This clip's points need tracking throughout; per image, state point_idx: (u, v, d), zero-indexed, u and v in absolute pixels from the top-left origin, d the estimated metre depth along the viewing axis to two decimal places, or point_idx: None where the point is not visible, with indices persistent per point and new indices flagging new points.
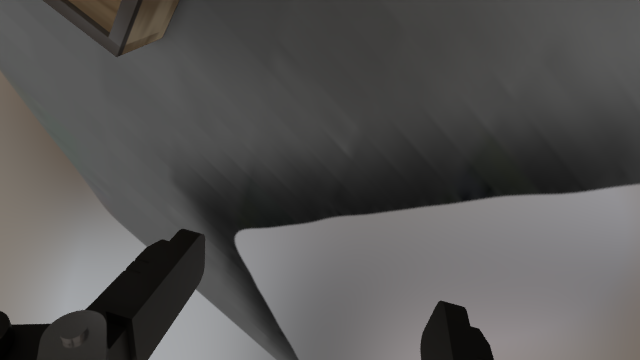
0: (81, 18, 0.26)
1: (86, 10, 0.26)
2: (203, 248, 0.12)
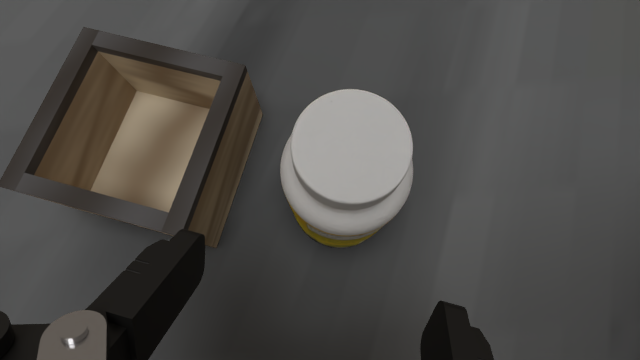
0: (41, 134, 0.19)
1: (61, 135, 0.20)
2: (203, 248, 0.12)
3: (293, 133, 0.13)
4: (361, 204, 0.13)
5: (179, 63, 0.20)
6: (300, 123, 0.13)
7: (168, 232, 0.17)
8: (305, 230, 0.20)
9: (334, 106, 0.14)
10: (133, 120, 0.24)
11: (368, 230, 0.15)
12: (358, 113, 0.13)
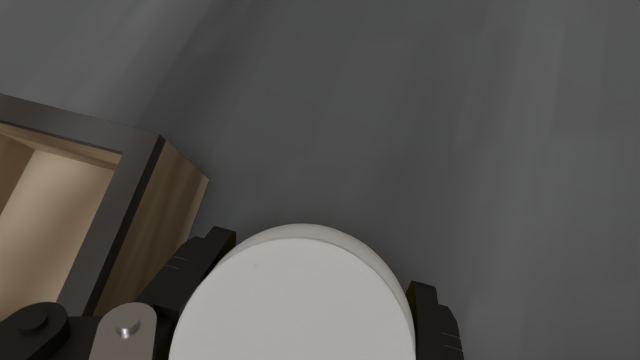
0: None
1: None
2: (234, 245, 0.12)
3: (174, 339, 0.07)
4: None
5: (60, 130, 0.13)
6: (189, 316, 0.07)
7: None
8: None
9: (261, 277, 0.07)
10: (27, 192, 0.18)
11: None
12: (308, 292, 0.07)
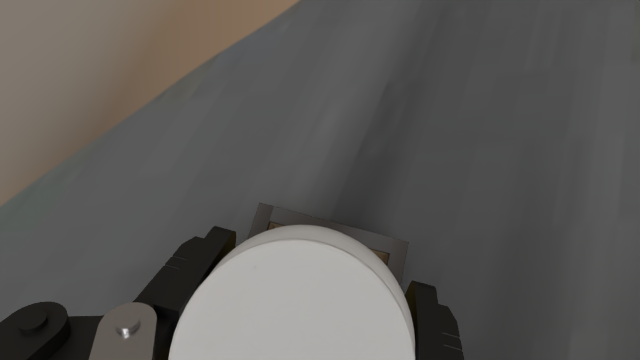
0: None
1: None
2: (234, 245, 0.12)
3: (174, 341, 0.07)
4: None
5: None
6: (189, 318, 0.07)
7: None
8: None
9: (261, 278, 0.07)
10: None
11: None
12: (307, 294, 0.07)
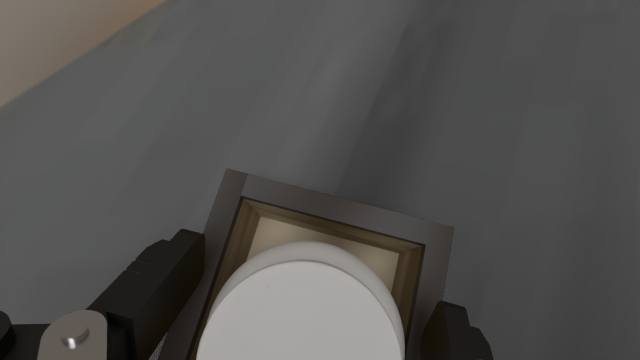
0: (188, 338, 0.13)
1: (204, 324, 0.14)
2: (203, 248, 0.12)
3: (200, 348, 0.08)
4: None
5: (364, 223, 0.15)
6: (212, 329, 0.08)
7: None
8: None
9: (273, 295, 0.08)
10: None
11: None
12: (312, 308, 0.08)
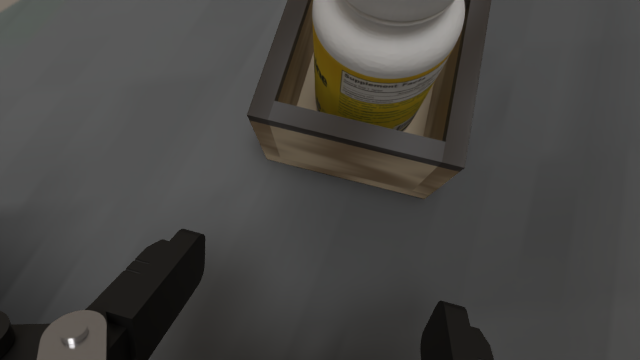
0: (284, 60, 0.17)
1: (291, 66, 0.18)
2: (203, 248, 0.12)
3: None
4: None
5: None
6: None
7: (449, 162, 0.15)
8: (332, 113, 0.18)
9: None
10: None
11: (416, 69, 0.13)
12: None
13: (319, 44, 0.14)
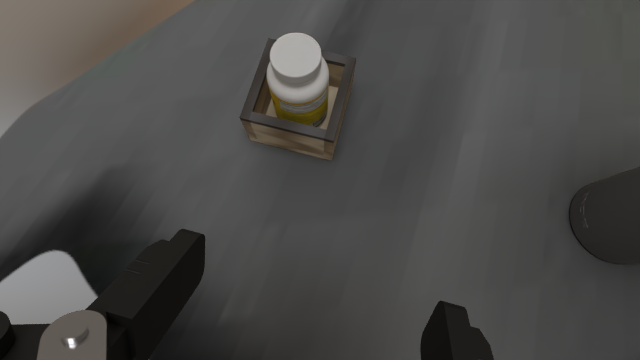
0: (256, 93, 0.37)
1: (261, 94, 0.38)
2: (203, 248, 0.12)
3: (271, 50, 0.31)
4: (298, 77, 0.31)
5: None
6: (274, 46, 0.31)
7: (327, 138, 0.35)
8: (281, 117, 0.38)
9: (289, 39, 0.32)
10: None
11: (306, 99, 0.33)
12: (299, 42, 0.31)
13: (269, 88, 0.34)
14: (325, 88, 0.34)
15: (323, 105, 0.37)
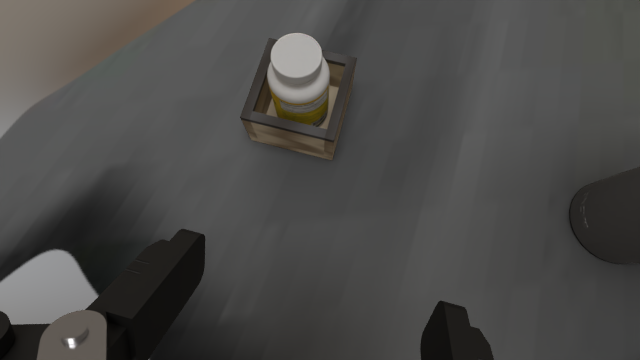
0: (257, 92, 0.37)
1: (261, 94, 0.38)
2: (203, 248, 0.12)
3: (271, 50, 0.31)
4: (299, 78, 0.31)
5: None
6: (274, 46, 0.31)
7: (327, 138, 0.35)
8: (281, 116, 0.38)
9: (290, 40, 0.32)
10: None
11: (307, 100, 0.33)
12: (299, 42, 0.31)
13: (270, 88, 0.34)
14: (326, 88, 0.34)
15: (324, 105, 0.37)
